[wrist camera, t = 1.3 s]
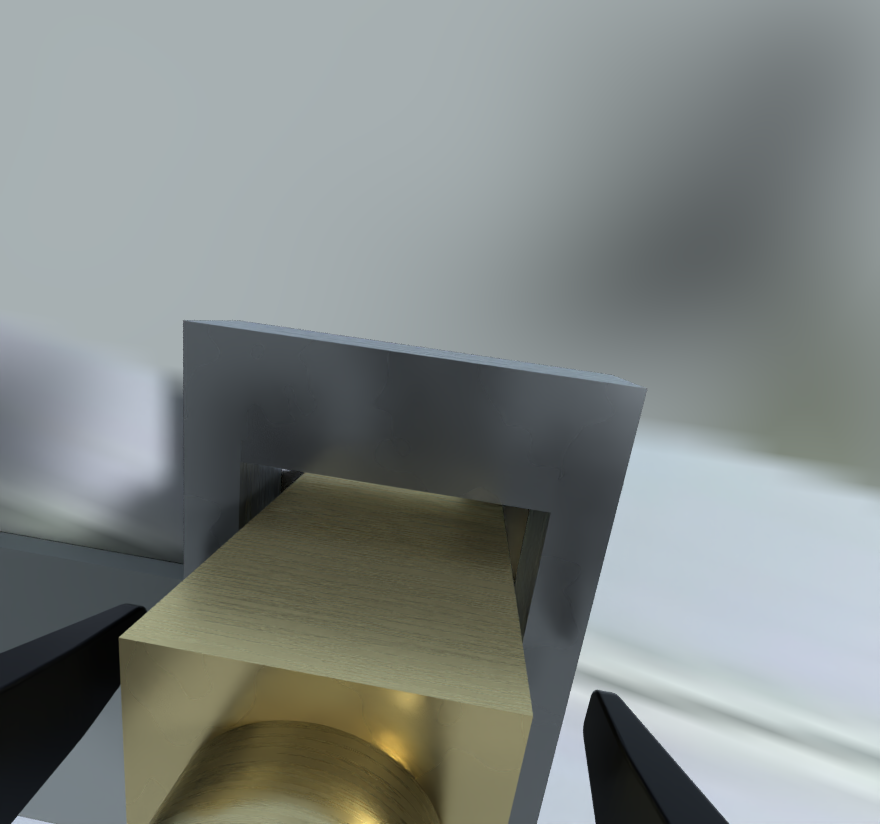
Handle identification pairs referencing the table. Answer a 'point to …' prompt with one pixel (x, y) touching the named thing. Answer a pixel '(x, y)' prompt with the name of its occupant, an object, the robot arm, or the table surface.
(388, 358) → the rectangular frame with openings
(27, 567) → the mat
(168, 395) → the table surface
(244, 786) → the brass cube with knob
